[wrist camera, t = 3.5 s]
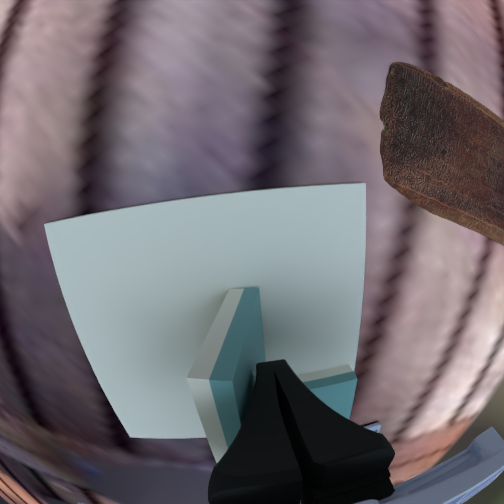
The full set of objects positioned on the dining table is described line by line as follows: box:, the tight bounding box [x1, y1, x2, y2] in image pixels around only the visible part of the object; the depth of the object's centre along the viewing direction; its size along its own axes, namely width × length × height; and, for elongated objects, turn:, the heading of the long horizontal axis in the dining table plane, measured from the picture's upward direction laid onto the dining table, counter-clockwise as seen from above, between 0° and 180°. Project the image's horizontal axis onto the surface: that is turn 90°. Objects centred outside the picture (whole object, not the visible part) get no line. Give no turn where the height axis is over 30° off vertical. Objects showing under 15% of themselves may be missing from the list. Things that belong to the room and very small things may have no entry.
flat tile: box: [297, 364, 357, 419], centre depth 18 cm, size 6×7×2 cm
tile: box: [187, 288, 266, 463], centre depth 13 cm, size 6×2×7 cm, turn 5°
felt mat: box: [44, 183, 366, 438], centre depth 17 cm, size 18×18×1 cm
